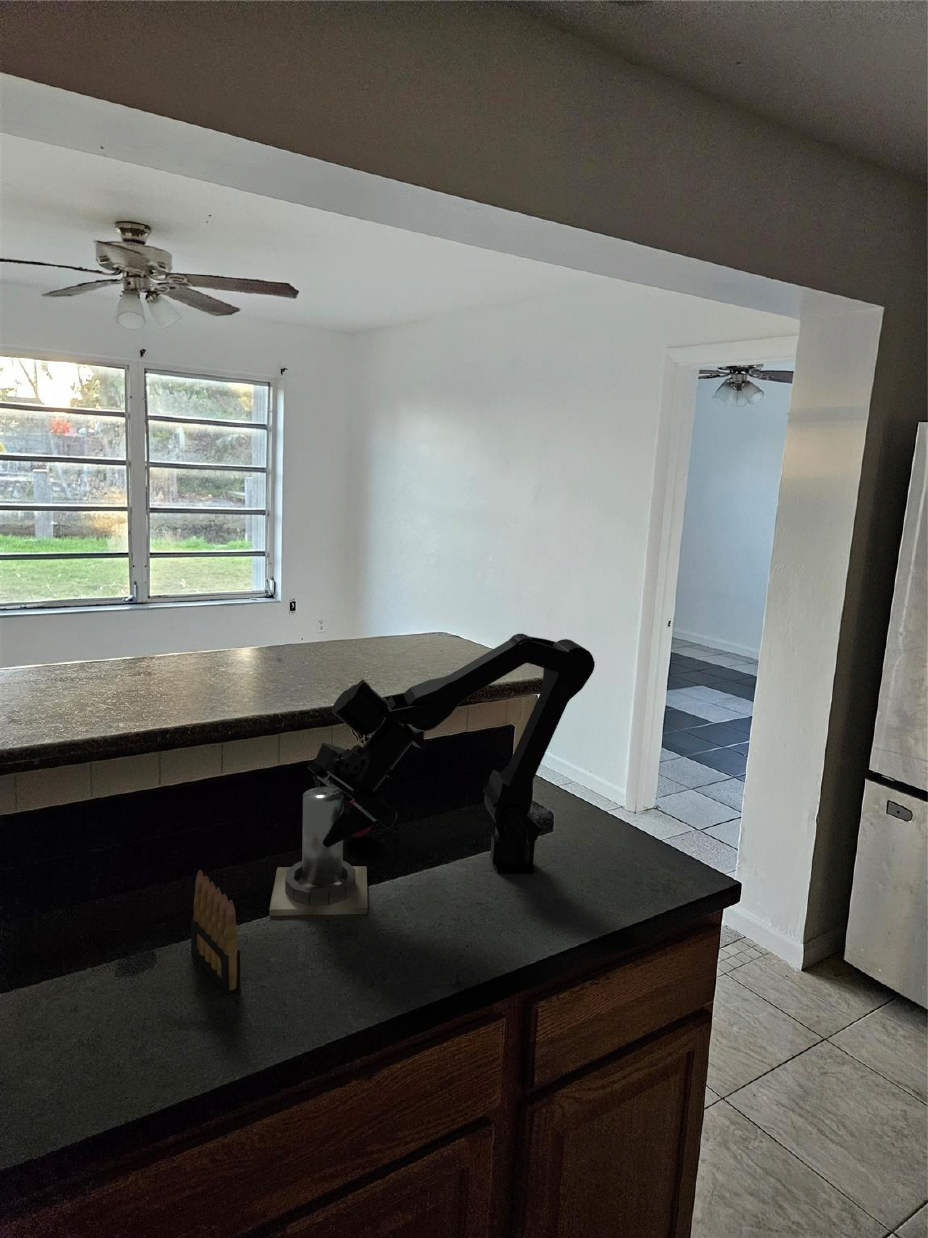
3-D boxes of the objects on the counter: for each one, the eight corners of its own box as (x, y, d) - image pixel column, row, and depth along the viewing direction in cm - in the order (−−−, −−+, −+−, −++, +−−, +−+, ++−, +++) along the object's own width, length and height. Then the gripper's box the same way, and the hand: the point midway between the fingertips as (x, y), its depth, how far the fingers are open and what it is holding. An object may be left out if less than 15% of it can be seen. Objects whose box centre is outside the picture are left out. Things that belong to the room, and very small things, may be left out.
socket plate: (366, 872, 126) (367, 854, 126) (367, 914, 115) (368, 895, 114) (277, 873, 124) (277, 855, 124) (269, 916, 113) (269, 897, 112)
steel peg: (342, 865, 122) (344, 786, 120) (341, 885, 117) (343, 803, 114) (303, 865, 122) (304, 787, 119) (300, 886, 116) (301, 804, 113)
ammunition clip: (241, 989, 97) (241, 901, 95) (226, 995, 96) (226, 906, 94) (204, 947, 105) (203, 865, 103) (190, 952, 104) (190, 869, 101)
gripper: (319, 707, 124) (253, 787, 120) (381, 743, 110) (308, 836, 105) (361, 746, 131) (300, 823, 126) (425, 785, 116) (358, 874, 112)
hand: (314, 837), depth 117 cm, fingers closed on steel peg, 6 cm apart
